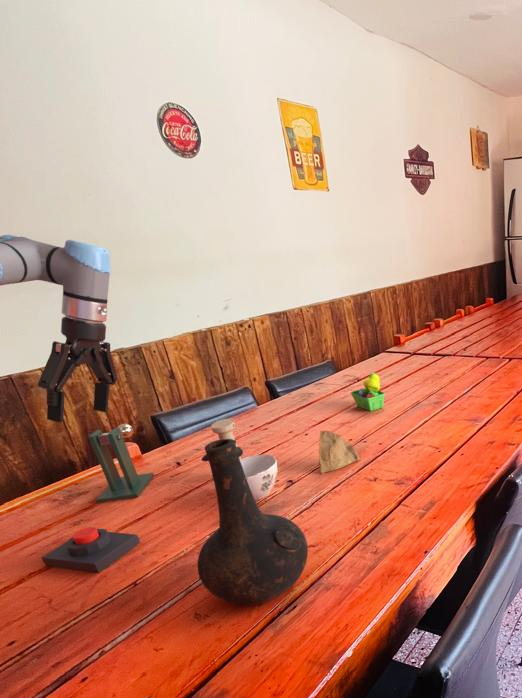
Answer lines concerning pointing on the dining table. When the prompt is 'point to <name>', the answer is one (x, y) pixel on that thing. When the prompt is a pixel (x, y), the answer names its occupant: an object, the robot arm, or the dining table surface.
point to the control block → (92, 552)
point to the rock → (335, 452)
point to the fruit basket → (369, 394)
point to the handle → (224, 429)
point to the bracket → (118, 485)
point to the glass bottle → (247, 538)
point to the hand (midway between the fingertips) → (79, 415)
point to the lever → (125, 431)
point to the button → (85, 536)
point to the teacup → (260, 474)
